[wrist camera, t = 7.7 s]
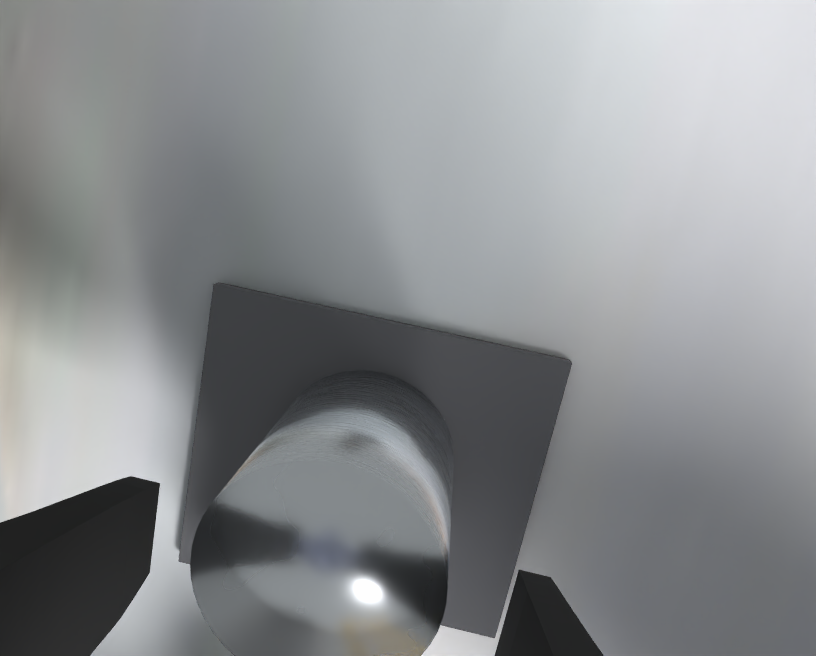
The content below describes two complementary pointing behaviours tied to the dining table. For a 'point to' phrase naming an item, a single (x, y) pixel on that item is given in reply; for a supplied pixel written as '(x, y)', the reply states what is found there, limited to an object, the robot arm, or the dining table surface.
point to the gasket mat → (413, 363)
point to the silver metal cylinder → (333, 527)
